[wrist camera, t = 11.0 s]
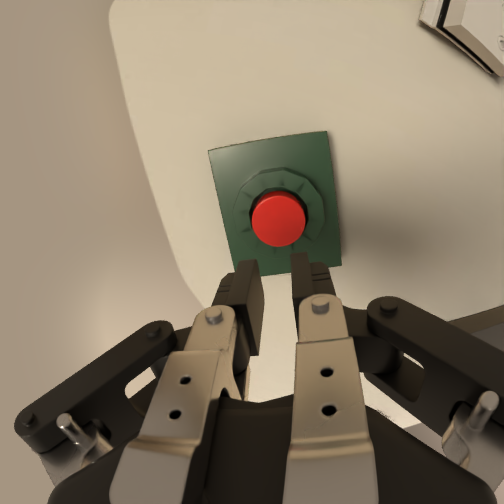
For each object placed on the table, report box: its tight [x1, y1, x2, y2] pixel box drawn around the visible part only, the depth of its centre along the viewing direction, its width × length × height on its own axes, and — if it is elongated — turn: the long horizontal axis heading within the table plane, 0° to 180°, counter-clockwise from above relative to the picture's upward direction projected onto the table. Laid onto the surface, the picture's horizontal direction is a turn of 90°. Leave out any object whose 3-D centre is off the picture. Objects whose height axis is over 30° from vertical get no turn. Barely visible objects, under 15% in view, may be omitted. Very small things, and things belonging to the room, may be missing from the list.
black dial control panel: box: [448, 305, 504, 352], centre depth 28 cm, size 14×11×3 cm
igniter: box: [208, 131, 342, 276], centre depth 23 cm, size 11×9×4 cm
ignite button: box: [252, 191, 305, 247], centre depth 20 cm, size 4×4×2 cm
